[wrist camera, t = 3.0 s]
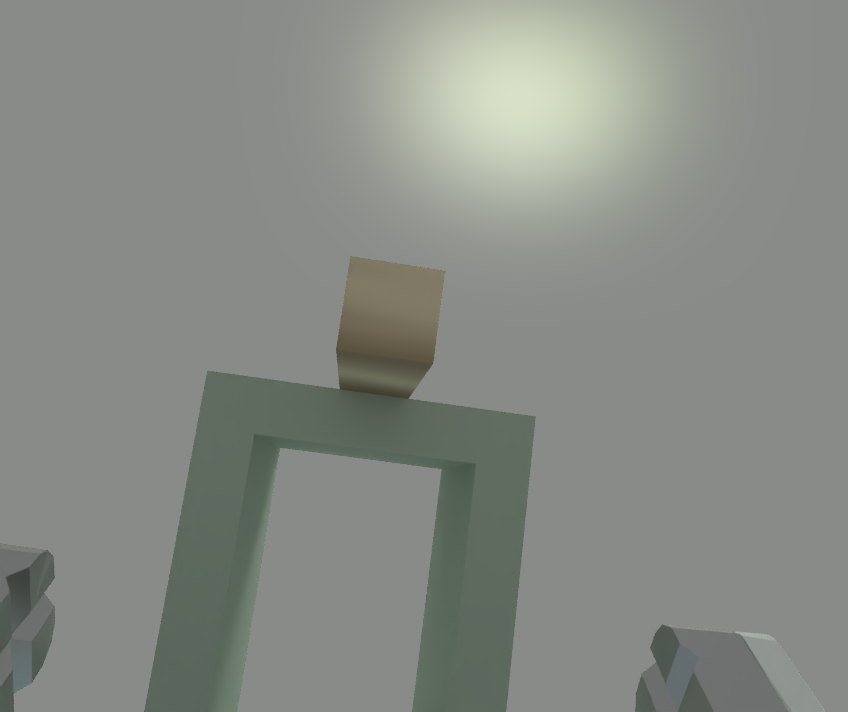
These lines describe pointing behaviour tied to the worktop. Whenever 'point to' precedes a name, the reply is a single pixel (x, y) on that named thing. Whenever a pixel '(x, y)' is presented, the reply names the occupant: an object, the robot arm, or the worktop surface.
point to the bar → (388, 326)
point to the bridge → (360, 438)
